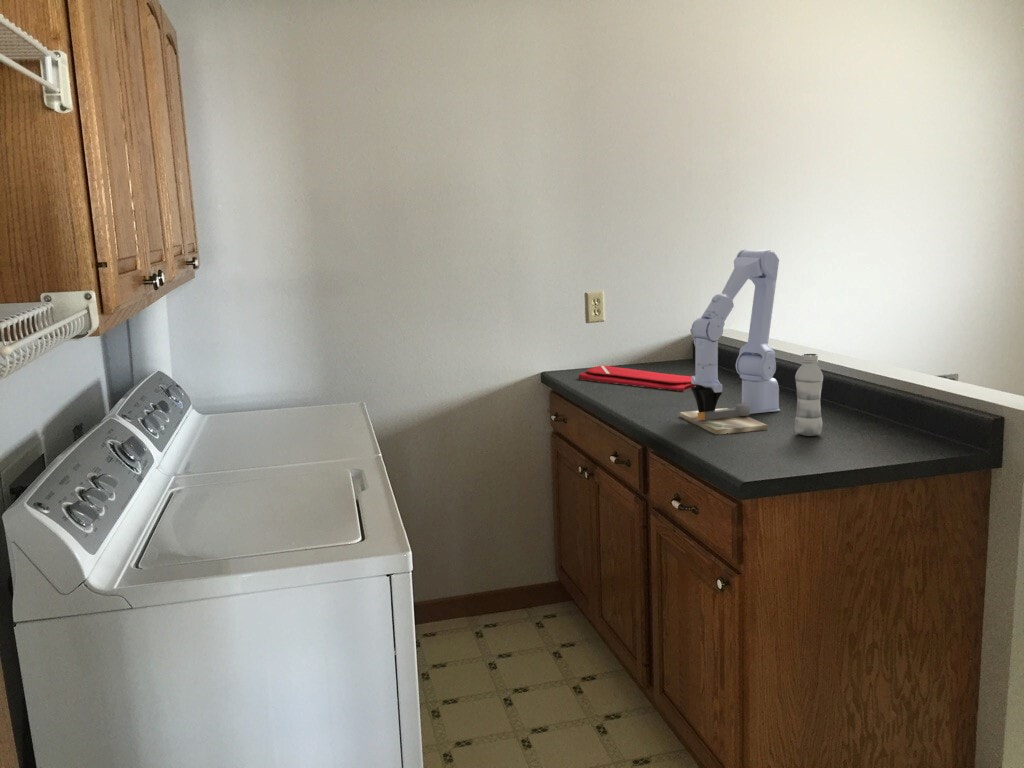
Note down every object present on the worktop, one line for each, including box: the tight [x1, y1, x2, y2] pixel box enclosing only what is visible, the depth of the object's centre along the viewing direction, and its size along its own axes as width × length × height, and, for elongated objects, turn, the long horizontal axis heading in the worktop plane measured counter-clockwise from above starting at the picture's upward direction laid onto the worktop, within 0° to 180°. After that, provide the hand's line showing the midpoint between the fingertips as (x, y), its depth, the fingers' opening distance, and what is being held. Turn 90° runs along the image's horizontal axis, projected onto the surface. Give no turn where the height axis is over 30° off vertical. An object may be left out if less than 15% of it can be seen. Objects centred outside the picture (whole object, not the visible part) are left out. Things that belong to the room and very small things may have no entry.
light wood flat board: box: [679, 407, 768, 435], centre depth 237 cm, size 15×23×1 cm, turn 14°
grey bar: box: [698, 402, 751, 420], centre depth 237 cm, size 15×4×3 cm, turn 107°
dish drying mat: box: [578, 364, 697, 392], centre depth 298 cm, size 16×41×4 cm, turn 48°
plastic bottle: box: [793, 353, 824, 437], centre depth 220 cm, size 6×7×20 cm
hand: (706, 414), depth 239 cm, fingers open, 3 cm apart
